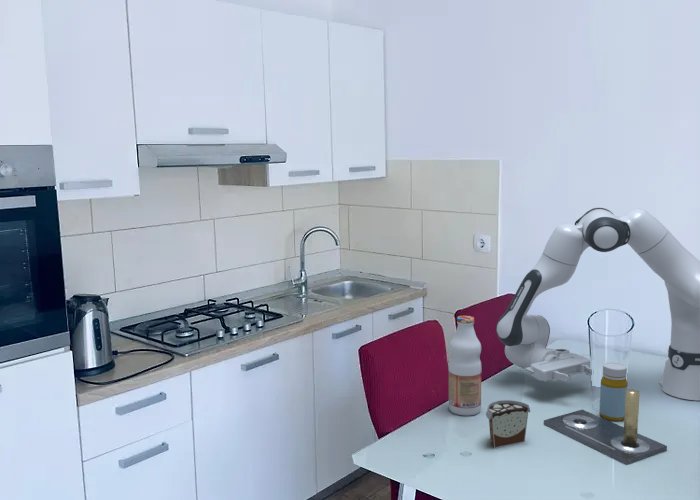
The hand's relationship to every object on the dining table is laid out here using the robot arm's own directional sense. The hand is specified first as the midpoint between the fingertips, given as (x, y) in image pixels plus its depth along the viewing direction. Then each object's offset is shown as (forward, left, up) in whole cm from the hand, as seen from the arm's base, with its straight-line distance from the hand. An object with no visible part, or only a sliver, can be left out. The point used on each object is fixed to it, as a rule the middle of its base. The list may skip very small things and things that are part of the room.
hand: (580, 375), depth 192 cm
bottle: (0, +12, -9) cm, 15 cm away
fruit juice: (+33, -13, -9) cm, 37 cm away
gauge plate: (+13, +19, -9) cm, 25 cm away
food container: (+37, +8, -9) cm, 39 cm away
